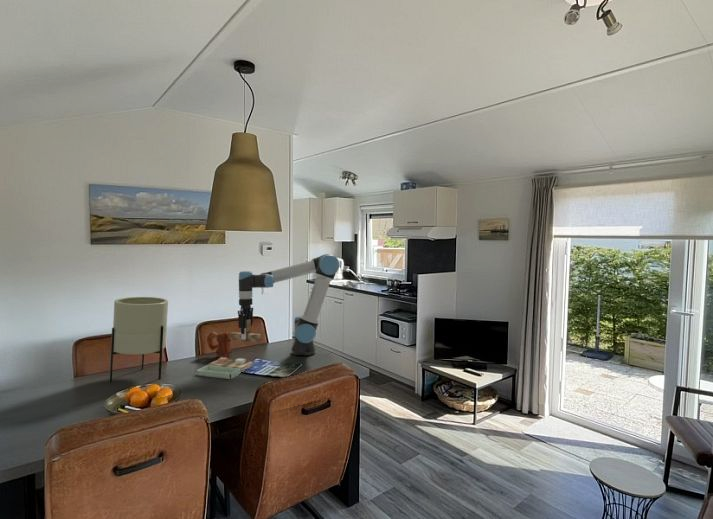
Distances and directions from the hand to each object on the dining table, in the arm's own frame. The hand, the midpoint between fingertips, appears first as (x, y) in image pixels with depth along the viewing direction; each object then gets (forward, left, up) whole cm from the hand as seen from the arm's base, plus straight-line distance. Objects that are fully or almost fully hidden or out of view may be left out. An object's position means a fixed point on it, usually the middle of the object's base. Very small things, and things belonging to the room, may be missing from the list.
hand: (245, 338), depth 228 cm
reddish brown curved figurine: (+19, -3, -13) cm, 24 cm away
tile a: (-5, +13, -10) cm, 17 cm away
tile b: (+5, +15, -10) cm, 19 cm away
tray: (0, +25, -13) cm, 29 cm away
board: (0, +15, -13) cm, 20 cm away
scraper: (0, 0, -1) cm, 1 cm away
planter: (+34, +41, -13) cm, 55 cm away
